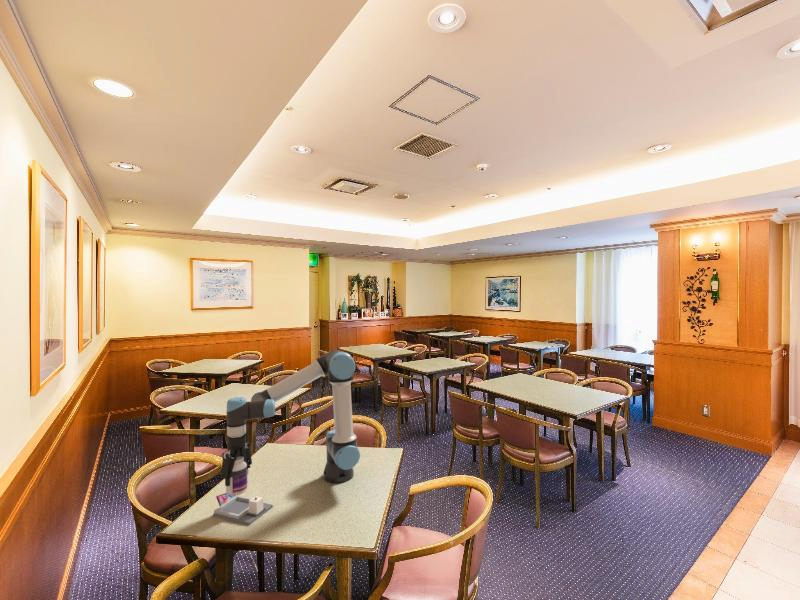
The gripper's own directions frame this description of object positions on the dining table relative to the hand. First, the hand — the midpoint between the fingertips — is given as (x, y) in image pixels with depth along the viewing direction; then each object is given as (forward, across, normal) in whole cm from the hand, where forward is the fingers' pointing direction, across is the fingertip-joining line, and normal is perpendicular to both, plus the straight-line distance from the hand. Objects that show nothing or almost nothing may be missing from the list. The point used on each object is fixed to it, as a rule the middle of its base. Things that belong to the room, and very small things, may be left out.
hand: (237, 487), depth 164 cm
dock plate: (+10, 0, +3) cm, 10 cm away
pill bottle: (+2, 0, 0) cm, 2 cm away
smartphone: (+10, -5, -10) cm, 15 cm away
